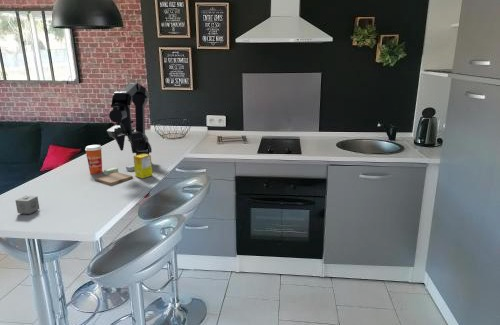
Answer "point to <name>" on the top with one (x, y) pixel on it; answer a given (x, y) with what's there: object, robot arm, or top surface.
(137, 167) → the supplement box
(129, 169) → the slate brick
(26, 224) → the top surface
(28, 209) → the dice cube
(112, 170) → the sage brick
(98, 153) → the paper cup
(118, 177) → the walnut board
